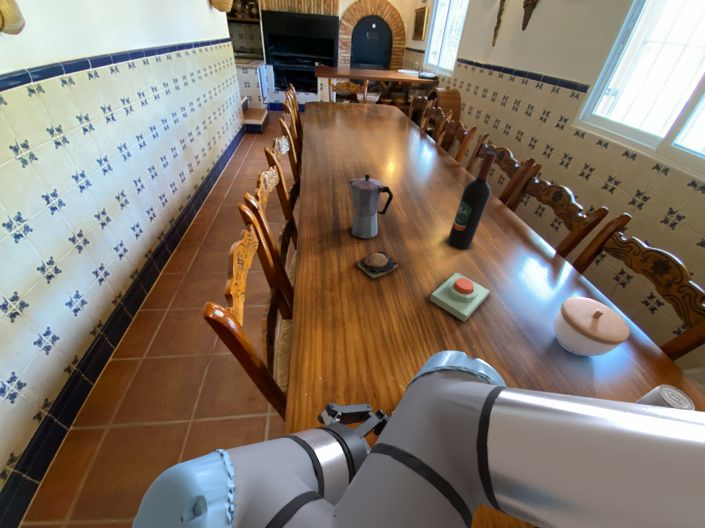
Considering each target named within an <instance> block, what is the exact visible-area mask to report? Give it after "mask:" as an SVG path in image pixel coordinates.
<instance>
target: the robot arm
mask: <svg viewBox="0 0 705 528" xmlns="http://www.w3.org/2000/svg"><path fill="white" fill-rule="evenodd" d="M404 391H405V392H404V394H403V395H402V397H401V398H400V401H399V402H398V404H397V406H396V407H395V409H394V410H395V411H394V410H393V411H394V412H393V411H392V412H393V414H392V416H391V415H390V416H388V415H387V414H386V413H385V412H384V411H383V410H382V409H380V408H379V409H378V410H377V411H376V412H375V413H374V412H373V411H372V409H373V408H372V406H371V405H370V404H369V403H355V404H344V405H343V404H342V405H340V404H337V403H334V402H330V401H329V402H328V403H327V404H326V405H325V406H324V408H323V409H322V410H321V412H319V414H318V415H317V417H316V419H317V421H318V422H319V423H320V424H322V425H321V426H318V427H315V428H308V429H305V430H301V431H297V432H294V433H290V434H287V435H282V436H278V437H276V438H274V439H270V440H263V441H260V442H255V443H251V444H247V445H241V446H237V447H232V448H227V449H225V448H222V449H221V448H217V449H214V450H213V451H211V452H210V453H208V454H205V455H202V456H199V457H196V458H195V457H194V458H192V459H189V460H186V461H183V462H180V463H177V464H175V465H172V466H171V467H169V468H167V469H165V470H164V471H163V472H162V473H159V475H158V476H157V477H156V478H155V479H154V481H153V482H152V483H151V484H150V485H149V487H148V489H146V491H145V493H144V495H143V497H142V499H141V501H140V504H139V507H138V510H137V513H136V515H135V516H134V519H133V521H132V525H131V528H472V526H473V519H474V517H475V515H476V512H477V509H478V508H479V505H482V506H485V507H487V508H490V509H493V510H495V511H498V512H500V513H503V514H504V515H507V516H511V517H514V518H517V519H518V520H521V521H524V522H526V523H528V524H531V525H534V526H535V527H537V528H705V411H699V410H694V411H691V410H683V409H675V408H667V407H659V406H651V405H644V404H636V403H635V402H629V401H619V400H612V399H611V400H610V399H603V398H596V397H590V396H589V397H586V396H580V395H573V394H565V393H557V392H550V391H549V392H548V391H541V390H533V389H525V388H519V387H511V386H507V385H506V383H505V381H504V379H503V377H502V376H501V375H500V373H499V372H498V371H497V370H495V368H494V367H492V366H491V365H490V364H489V363H488V362H486V361H484V360H483V359H481V358H479V357H475V358H473V357H470V356H469V355H467V354H466V353H465V352H464V351H460V350H442V351H439V352H436V353H435V354H432V355H431V356H430V357H429V358H428V359H427V360H426V361H425V362H424V364H423V365H422V366H421V368H420V370H419V371H418V372H417V373H416V375H414V377H413V378H411V380H410V381H409V383H408V384H407V387H406V388H405V390H404ZM359 423H361V424H359ZM353 424H359V425H358V426H357V427H355V428H351V427H350V426H348V425H353ZM384 427H385V428H384ZM383 428H384V429H383ZM382 430H383V431H382ZM381 431H382V433H381ZM371 433H373V434H374V435H375V437H377V436H378V437H377V440H376V441H375V443H374V444H373V446H372V447H370V445H369V443H368V441H367V440H366V438H367V437H368V436H369V435H370V434H371Z"/></svg>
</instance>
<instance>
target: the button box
mask: <svg viewBox="0 0 705 528" xmlns="http://www.w3.org/2000/svg"><path fill="white" fill-rule="evenodd" d="M459 278H466V279H468V280H470V281H471V282H472V283H473V285H474V287H473V289H472V292H471V293H470V294H462V293H459V292H458V291H456V290H455V288H454V285H455V283H456V280H457V279H459ZM490 291H491V290H489V289H487V288H485V287H484V286H482V285H481V284H479V283H477V282H475V281H473V280H471V279H469V278H468V277H466V276H464V275H462V274H460V273H459V272H455V273H453V275H451V276H450V277H449V278H448V279H447V280H446V281H445V282H443V283H442V284H441V285H440V286H439V287H438V288H437V289H435V290H434V291H433V292H432V293H431V295H430V297H429V301H431V303H434V304H435V305H436V306H439V307H440V308H442V309H443V310H445V311H446V312H448V313H449V314H451V315H453V317H455V318H457V319H459V320H460V321H462V322H463V323H465V322H466V321H467V319H468V318H469V317H471V315H472V314H473V313H474V312H475V311H476V309H478V307H479V306H480V305H481V304H482V303H483V302H484V301H485V299H486V298H487V297H488V295H489V293H490Z"/></svg>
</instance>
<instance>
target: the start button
mask: <svg viewBox="0 0 705 528" xmlns="http://www.w3.org/2000/svg"><path fill="white" fill-rule="evenodd" d="M466 278H467V277H466ZM466 278H459V279H457V280H456V283H455V285H454V288H455V290H456V291H458V292H459V293H462V294H470V293H471V292H472V289H473V287H474V285H473V283H472V282H471V281H472V280H471V279H469V278H468V279H469V280H468V279H466ZM470 280H471V281H470Z"/></svg>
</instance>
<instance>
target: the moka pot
mask: <svg viewBox="0 0 705 528" xmlns="http://www.w3.org/2000/svg"><path fill="white" fill-rule="evenodd" d="M348 184H350V187H351V193H352V204H353V207H354V214H353V220H352V226H351V234H352V235H353V236H354V237H356V238H359V239H372V238H375V237H376V236H377V235H378V217H377V215H383V216H384V215H386V213H387V211H388V208H390V207H389V206H390V204H391V203H392V201H393V197H394V194H393V192H392V191H391V189H390V187H389V186H385V185H383V183H382V182H381V181H379V180H377V179H375V178H371V174H365V175H364V177H361V178H352V179H350V180H348ZM381 193H382V194H384V193H385V194H388V198H387V200H386V202H385V204H384V208H383V209H382V210H377V209H378V206H379V205H378V204H379V200H380V197H381V196H380V195H381Z"/></svg>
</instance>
